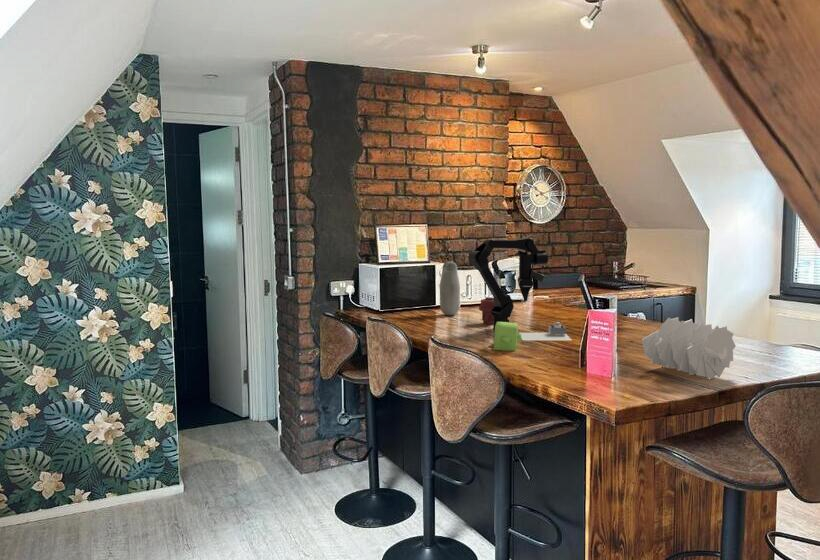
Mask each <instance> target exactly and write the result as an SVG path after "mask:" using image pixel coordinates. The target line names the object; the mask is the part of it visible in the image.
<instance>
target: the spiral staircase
mask: <svg viewBox="0 0 820 560" xmlns="http://www.w3.org/2000/svg"><path fill="white" fill-rule="evenodd" d="M712 325H713V324H711V323H710V324H704V323H703V322H700V323H699V324H697V323H695V322H693V319H692V318H691V319H689V320H685V321H684V320H680V319H679V317H674V318H671V317H668V318H667V319H666V320H665V321H664V322H663V323H662V324H660V327H659V330H656V331H654V332H652V333H651V334H649V335H647V336H645V337H643V338H642V339H641V343H642V346H643V351H644V353H643V354H644V355H645V356H646V358H648V360H650V363H651V365H656V366H657V365H658V366H661V368H662V367H663V368H665V367H666V369H675V370H677V372H680V371H681V372H684V373H688V374H689V376H690V375H692V376H694V375H696V376H699V377H705V378H706V380H707V379H709V378H711V379H713V378H715V377H716V376H717V377H718V378H720V377H721V376H722V374H723V372H724V370H725V368H727V369H730V364H731V362H734V349H735V348H736V347H737V346H736V344H735V342H734V339H733V337H734V332H732V331H731V330H728V326H727V325H726V326H720V327H719V325H716V326H715V327H714V328H713V327H712ZM709 380H710V379H709Z"/></svg>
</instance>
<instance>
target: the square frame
mask: <svg viewBox="0 0 820 560" xmlns="http://www.w3.org/2000/svg"><path fill="white" fill-rule="evenodd" d="M547 326H548V330H547V331H548V333H550V334H567V327H566V326H565V325H561V328H554V324H553V325H547Z"/></svg>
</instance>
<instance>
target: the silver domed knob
mask: <svg viewBox="0 0 820 560" xmlns="http://www.w3.org/2000/svg"><path fill="white" fill-rule="evenodd" d="M553 325H554V328H561V326H562V324H561V322H560V321H555V322H554V324H553ZM550 335H553V336H564V335H565V334H550Z"/></svg>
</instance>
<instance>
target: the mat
mask: <svg viewBox="0 0 820 560" xmlns="http://www.w3.org/2000/svg"><path fill="white" fill-rule="evenodd" d="M518 334H521V340H522V341H554V342H555V341H556V342H557V341H560V342H561V341H570V342H571V341H573V340H572V338H570V336H569V335H568V334H567V333H566V334H565V335H564V336H553V335H550V333H549V332H518Z"/></svg>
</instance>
